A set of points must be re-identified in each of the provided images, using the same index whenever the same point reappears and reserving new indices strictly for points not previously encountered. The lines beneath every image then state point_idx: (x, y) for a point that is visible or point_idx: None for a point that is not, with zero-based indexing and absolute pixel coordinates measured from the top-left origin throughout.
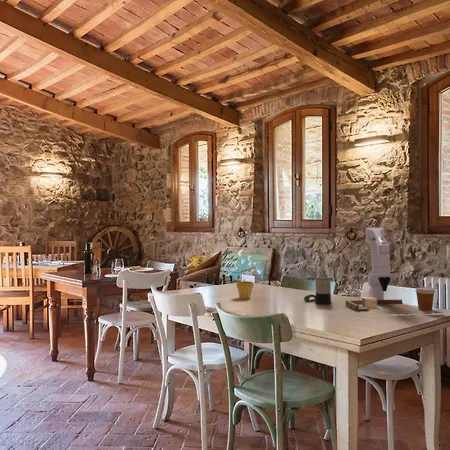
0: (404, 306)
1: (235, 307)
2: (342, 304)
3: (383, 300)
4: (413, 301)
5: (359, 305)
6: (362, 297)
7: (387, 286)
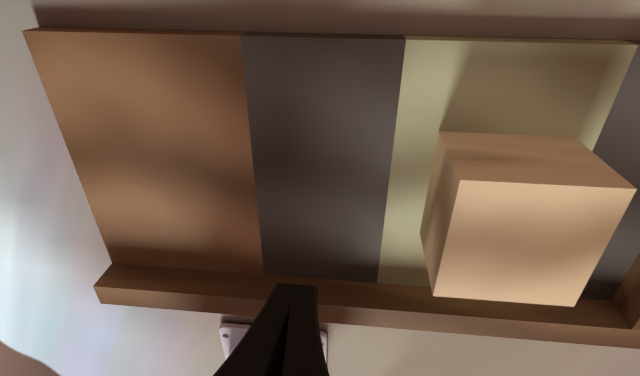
0: (122, 131)
1: None
2: (588, 353)
3: None
4: (20, 339)
5: None
6: (569, 300)
7: (236, 346)
